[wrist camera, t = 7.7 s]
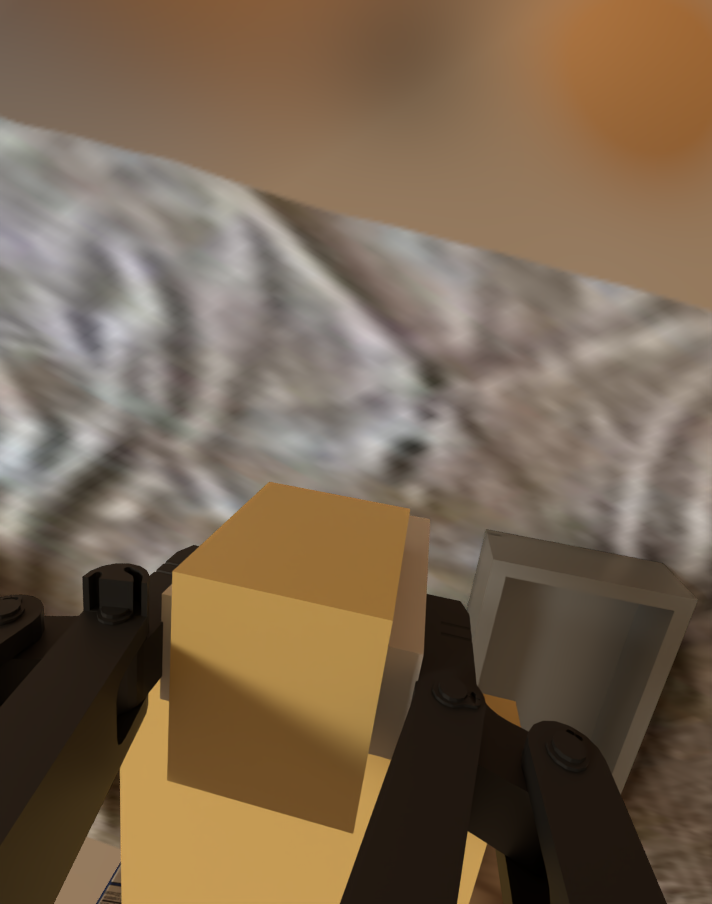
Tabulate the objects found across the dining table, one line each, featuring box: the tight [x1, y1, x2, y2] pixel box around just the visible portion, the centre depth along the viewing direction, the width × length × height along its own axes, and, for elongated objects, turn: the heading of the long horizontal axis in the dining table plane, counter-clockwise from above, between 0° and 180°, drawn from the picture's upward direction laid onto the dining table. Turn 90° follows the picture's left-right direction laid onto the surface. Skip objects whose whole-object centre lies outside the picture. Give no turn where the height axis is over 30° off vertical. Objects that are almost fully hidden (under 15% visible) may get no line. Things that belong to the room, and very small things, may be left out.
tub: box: [467, 529, 698, 795], centre depth 33 cm, size 12×20×4 cm, turn 172°
